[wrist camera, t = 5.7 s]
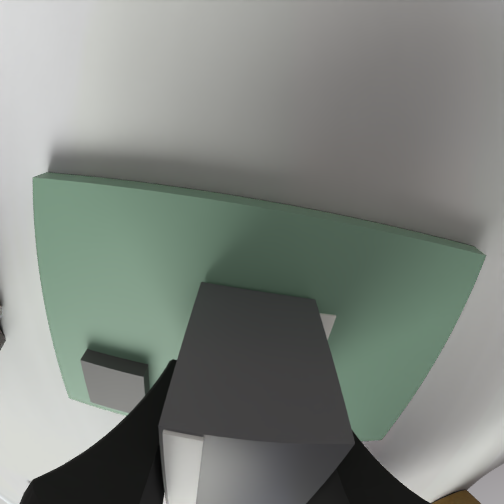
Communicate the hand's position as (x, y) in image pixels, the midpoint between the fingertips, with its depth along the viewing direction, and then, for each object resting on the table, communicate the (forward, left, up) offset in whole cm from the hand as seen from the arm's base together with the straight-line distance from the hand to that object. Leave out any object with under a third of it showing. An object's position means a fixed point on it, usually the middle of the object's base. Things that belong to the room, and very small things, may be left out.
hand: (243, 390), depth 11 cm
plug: (0, 0, -2) cm, 2 cm away
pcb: (0, 0, -3) cm, 3 cm away
